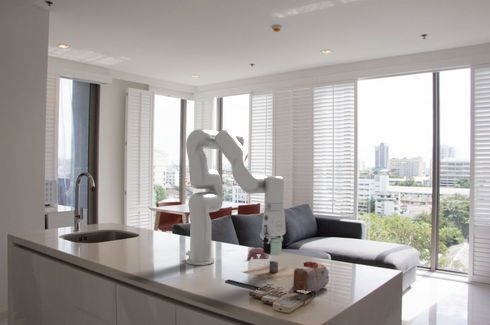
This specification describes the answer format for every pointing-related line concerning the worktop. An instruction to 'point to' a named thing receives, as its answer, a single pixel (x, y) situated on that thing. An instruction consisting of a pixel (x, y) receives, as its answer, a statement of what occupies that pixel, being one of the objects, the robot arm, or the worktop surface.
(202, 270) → the worktop surface
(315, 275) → the food item
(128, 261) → the worktop surface
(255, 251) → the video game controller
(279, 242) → the cap
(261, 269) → the post stand
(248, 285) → the mat
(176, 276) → the worktop surface
